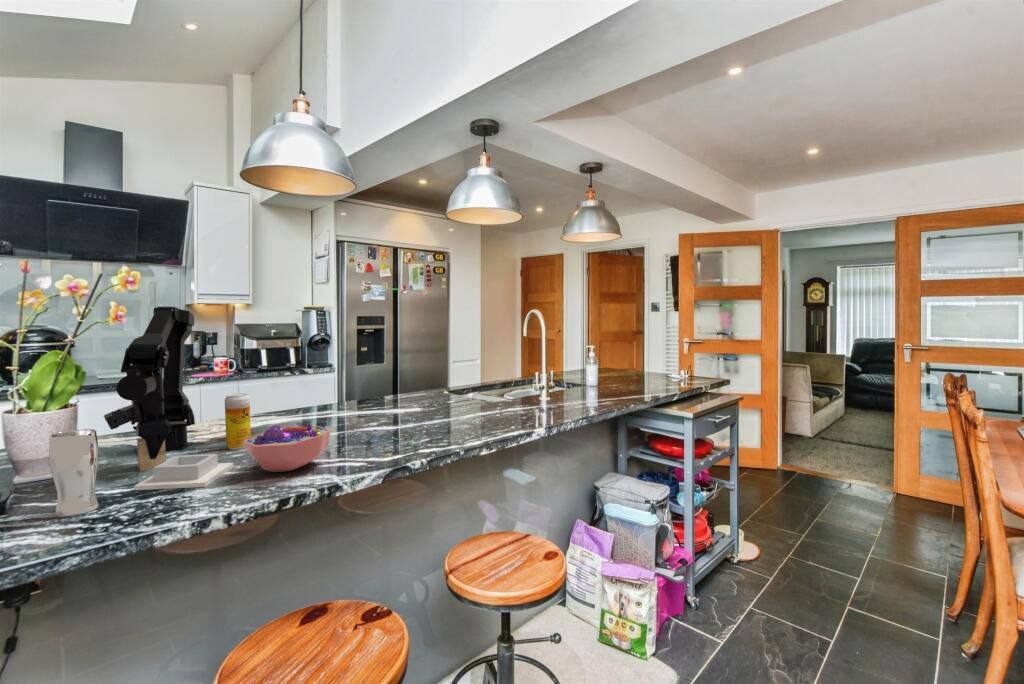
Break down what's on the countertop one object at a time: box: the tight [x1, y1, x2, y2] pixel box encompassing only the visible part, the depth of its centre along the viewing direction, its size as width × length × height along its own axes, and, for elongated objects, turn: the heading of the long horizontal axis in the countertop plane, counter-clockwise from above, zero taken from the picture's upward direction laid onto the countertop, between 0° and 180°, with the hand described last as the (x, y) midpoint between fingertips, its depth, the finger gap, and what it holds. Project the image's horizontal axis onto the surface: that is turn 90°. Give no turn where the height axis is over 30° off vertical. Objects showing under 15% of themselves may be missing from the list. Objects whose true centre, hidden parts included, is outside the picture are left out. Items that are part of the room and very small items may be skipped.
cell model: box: [242, 424, 331, 473], centre depth 116 cm, size 17×20×11 cm
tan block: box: [136, 437, 167, 472], centre depth 117 cm, size 5×5×7 cm
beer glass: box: [48, 428, 100, 518], centre depth 90 cm, size 7×7×15 cm
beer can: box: [224, 392, 252, 451], centre depth 134 cm, size 6×6×15 cm
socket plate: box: [133, 453, 235, 491], centre depth 109 cm, size 14×14×4 cm
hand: (151, 456), depth 117 cm, fingers closed on tan block, 5 cm apart
